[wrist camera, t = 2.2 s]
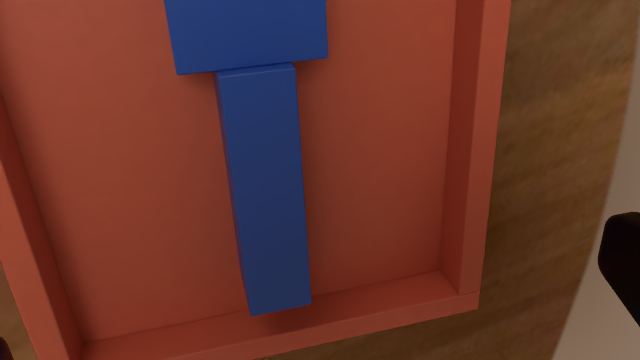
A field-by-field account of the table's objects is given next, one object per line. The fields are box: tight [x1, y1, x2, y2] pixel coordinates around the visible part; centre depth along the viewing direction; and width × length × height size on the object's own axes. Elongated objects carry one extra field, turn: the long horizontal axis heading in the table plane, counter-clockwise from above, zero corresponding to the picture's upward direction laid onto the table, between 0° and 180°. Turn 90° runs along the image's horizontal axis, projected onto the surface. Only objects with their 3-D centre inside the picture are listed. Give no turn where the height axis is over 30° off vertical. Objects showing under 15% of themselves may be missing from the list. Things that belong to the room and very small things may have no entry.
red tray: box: [0, 0, 512, 360], centre depth 15 cm, size 16×14×2 cm
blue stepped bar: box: [164, 0, 328, 316], centre depth 14 cm, size 11×4×2 cm, turn 3°
